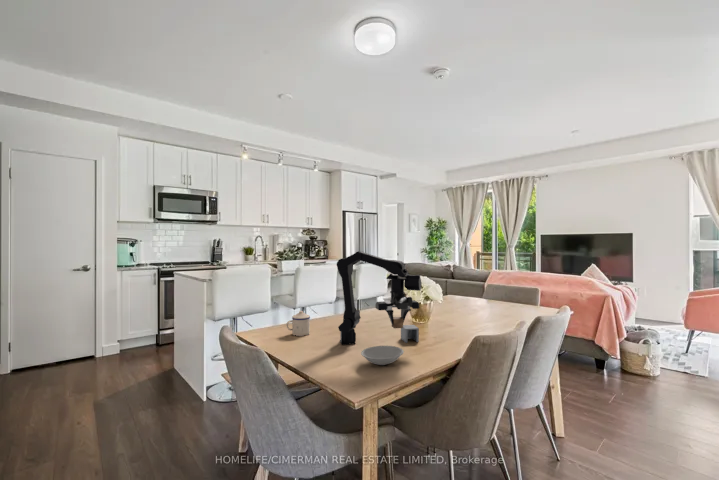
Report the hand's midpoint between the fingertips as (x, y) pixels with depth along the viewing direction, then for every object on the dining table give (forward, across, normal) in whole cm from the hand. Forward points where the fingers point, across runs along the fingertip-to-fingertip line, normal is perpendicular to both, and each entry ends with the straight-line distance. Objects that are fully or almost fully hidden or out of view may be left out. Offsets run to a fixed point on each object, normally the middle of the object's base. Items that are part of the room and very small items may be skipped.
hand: (397, 324), depth 153 cm
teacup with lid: (+11, -42, +32) cm, 54 cm away
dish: (+11, -12, -17) cm, 23 cm away
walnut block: (+1, 0, 0) cm, 1 cm away
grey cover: (+11, +10, +11) cm, 18 cm away
